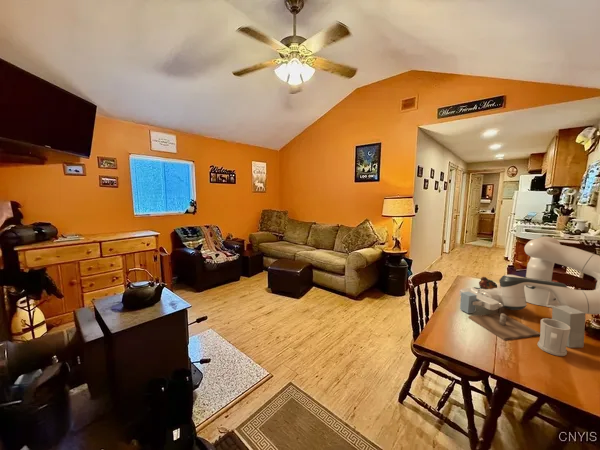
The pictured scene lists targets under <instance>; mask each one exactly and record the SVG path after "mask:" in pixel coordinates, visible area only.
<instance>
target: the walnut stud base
mask: <svg viewBox="0 0 600 450" xmlns="http://www.w3.org/2000/svg"><path fill="white" fill-rule="evenodd" d="M467 317H468V319H469V320H470V321H472V322H474V323H475V324H478V325H479V326H480V327H481V328H483V329H485V330H486V331H488V332H490V333H492V334H493V335H495V336H496V337H498V338H499V339H501V340H503V341H508V340H516V339H524V338H531V337H532V336H534V337H540V336H539V335H540V332H539V331H537V330H536V329H534V328H531V327H529V326H527V325H525V324H523V323H522V322H519V321H518V320H517V319H514V318H512V317H510V316H508V315H506V314H505V313H503V312H496V313H487V314H475V315H469V316H468V315H467ZM532 338H533V337H532Z"/></svg>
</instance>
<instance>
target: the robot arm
mask: <svg viewBox="0 0 600 450" xmlns="http://www.w3.org/2000/svg"><path fill="white" fill-rule="evenodd" d="M523 249H524V252H525V254H526V255H527V256H529V257H530V258H529V261H528V262H527V265H526V271H525V272H526V273H525V276H519V275H516V274H504V275H502V276H501V277H500V278H499V280H498V281H499V286H500V287H497V288H493V289H481V288H480V287H476V286H472V287H469V288H468V287H467V288H461V289H459V297H461V293H462V292H468V291H469V292H471V293H473V294H475V295H477V297H476V301H471V304H472V305H476V306H479V307H480V306H481V307H482V308H485V309H487V310H488V311H496V310H499V309H500V308H503V309H507V310H511V311H520V310H523V309H525V308H526V307H527V306H528V305H527V303H529V304H532V305H537V306H542V307H548V308H552V309H553V306H563V305H567V306H569V307H572V308H574V309H576V310H579V311H581V312H584V313H586V314H587V315H600V255H599V254H597V253H596V254H595V253H593V252H590V251H587V250H583V249H580V248H577V247H574V246H567V245H564V244H563V245H562V244H561V243H560V240H558V239H557V238H555V237H551V236H542V237H537V238H533V239H530V240H529V241H528V242H527V243H526V244H525V245H524V248H523ZM555 264H557V265H561V266H564V267H566V268H569V269H572V270H574V271H576V272H581V273H583V274H585V275H587V276H590V277H593V278H594V279H595V280H596V283H595V287H594V289H592V290H591V289H590V290H589V289H588V290H587V289H586V290H585V289H575V288H571V287H569V286H567V284H565V283H563V282H559V281H558V280H555V279H553V272H554V271H553V270H554V267H555ZM586 314H585V315H586Z"/></svg>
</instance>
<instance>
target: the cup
mask: <svg viewBox="0 0 600 450" xmlns="http://www.w3.org/2000/svg"><path fill="white" fill-rule="evenodd" d="M570 329H571V328H570V326H568V325H567V324H565V323H563V322H560V321H557V320H553V319H552V318H542V319H540V332H539V333H540V336H539V340H538V341H537V347H538V348H539V349H540V350H542V351H543V352H544V353H547V354H549V355H552V356H558V357H564V356H567V353H568V351H567V346H566V345H567V340H568V336H569V332H570Z"/></svg>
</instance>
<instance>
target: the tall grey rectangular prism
mask: <svg viewBox="0 0 600 450" xmlns="http://www.w3.org/2000/svg"><path fill="white" fill-rule="evenodd" d="M476 297H477V295H475V294H473V293H471V292H469V291H468V292H462V293H461V296H460V307H459V310H461V311H463V312H464V313H466V314H472V313H476V306H477V305H472V304H471V301H476Z"/></svg>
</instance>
